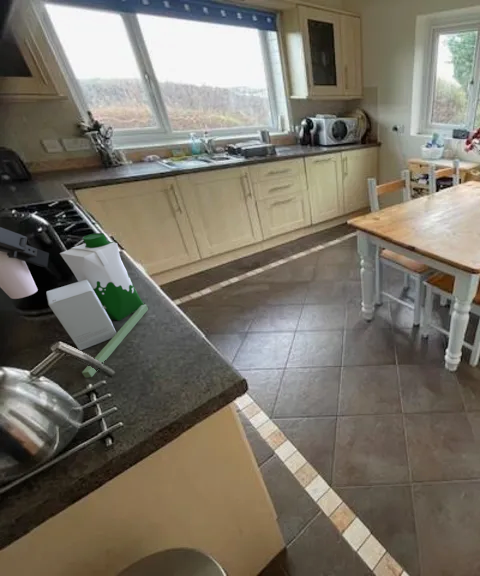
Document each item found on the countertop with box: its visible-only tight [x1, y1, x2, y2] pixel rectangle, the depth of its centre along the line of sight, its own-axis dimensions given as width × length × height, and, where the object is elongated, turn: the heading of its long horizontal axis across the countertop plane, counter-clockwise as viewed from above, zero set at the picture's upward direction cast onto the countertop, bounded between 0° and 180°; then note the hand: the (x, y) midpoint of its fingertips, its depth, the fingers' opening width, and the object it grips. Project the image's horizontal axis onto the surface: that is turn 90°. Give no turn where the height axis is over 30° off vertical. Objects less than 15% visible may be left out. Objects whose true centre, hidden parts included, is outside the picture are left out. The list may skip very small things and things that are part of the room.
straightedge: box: [81, 304, 149, 379], centre depth 75 cm, size 1×24×2 cm, turn 8°
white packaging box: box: [46, 279, 118, 351], centre depth 73 cm, size 7×7×13 cm
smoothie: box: [0, 251, 39, 300], centre depth 57 cm, size 6×6×14 cm
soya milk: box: [59, 232, 145, 322], centre depth 80 cm, size 9×9×20 cm
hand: (24, 261), depth 61 cm, fingers closed on smoothie, 6 cm apart
